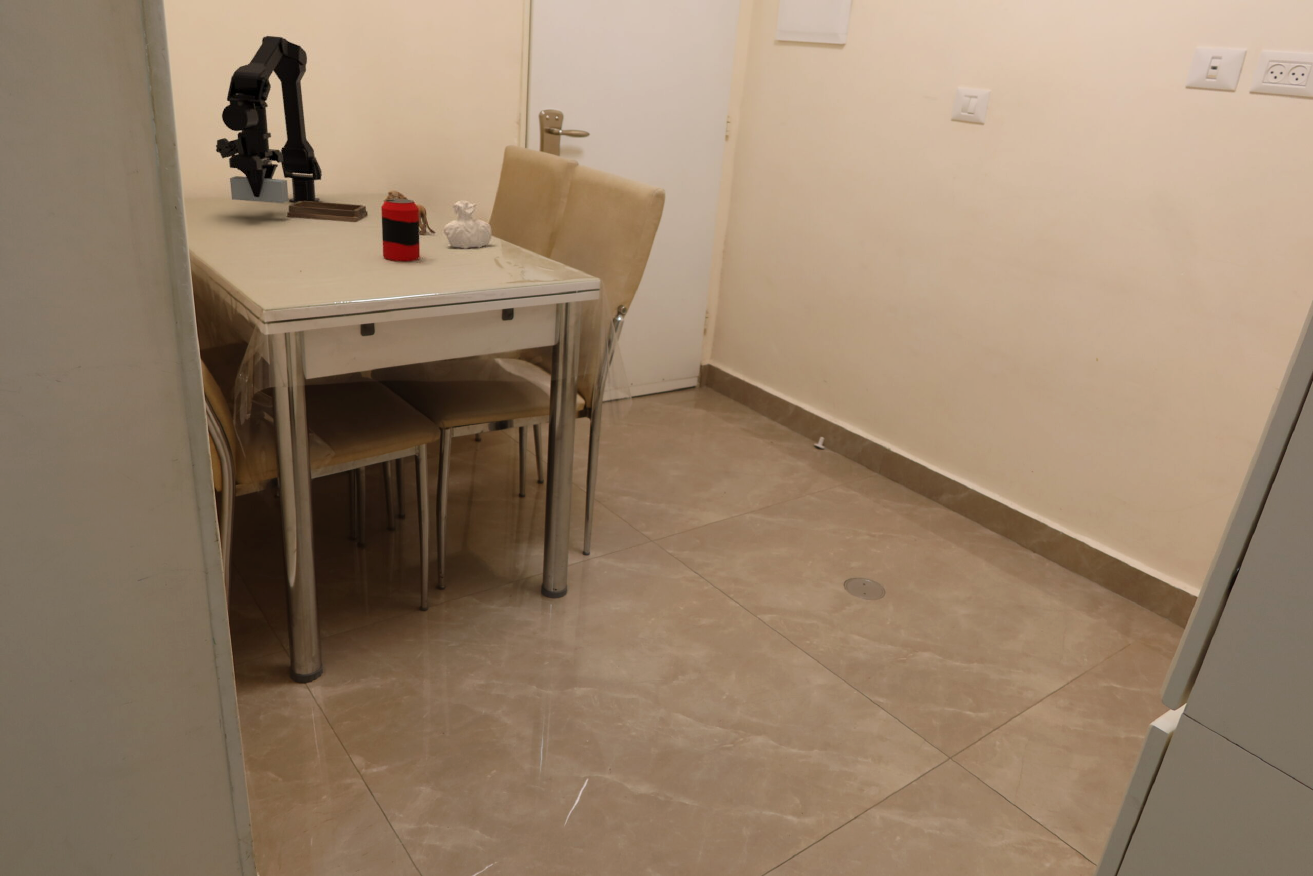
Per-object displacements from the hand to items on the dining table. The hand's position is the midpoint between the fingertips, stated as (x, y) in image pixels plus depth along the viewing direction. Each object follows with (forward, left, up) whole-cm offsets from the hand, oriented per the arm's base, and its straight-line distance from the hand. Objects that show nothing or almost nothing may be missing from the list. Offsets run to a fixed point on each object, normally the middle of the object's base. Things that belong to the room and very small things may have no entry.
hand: (260, 195), depth 220 cm
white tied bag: (+15, +52, -6) cm, 54 cm away
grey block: (0, 0, -1) cm, 1 cm away
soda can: (+33, +41, -6) cm, 53 cm away
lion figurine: (+2, +36, -6) cm, 36 cm away
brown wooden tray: (-10, +13, -5) cm, 17 cm away
